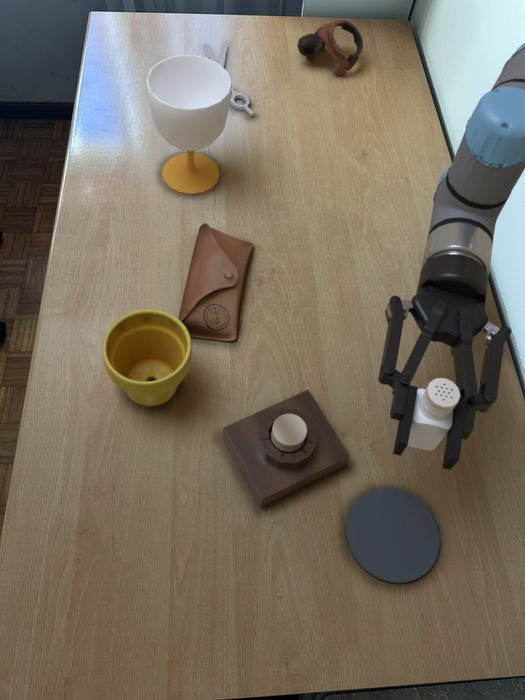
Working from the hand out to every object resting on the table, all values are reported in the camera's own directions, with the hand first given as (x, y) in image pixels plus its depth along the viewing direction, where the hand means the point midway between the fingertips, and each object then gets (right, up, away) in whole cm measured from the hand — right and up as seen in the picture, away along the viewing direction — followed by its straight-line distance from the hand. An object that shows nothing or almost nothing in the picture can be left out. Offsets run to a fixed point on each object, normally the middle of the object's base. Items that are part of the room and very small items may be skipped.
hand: (425, 456), depth 64 cm
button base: (-13, -2, +18) cm, 23 cm away
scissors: (-23, +58, +54) cm, 83 cm away
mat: (0, -11, +14) cm, 18 cm away
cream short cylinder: (-13, 0, +15) cm, 19 cm away
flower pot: (-30, +6, +22) cm, 37 cm away
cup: (-27, +38, +42) cm, 63 cm away
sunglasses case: (-22, +19, +31) cm, 42 cm away
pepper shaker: (+1, +1, +8) cm, 8 cm away
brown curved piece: (-4, +64, +59) cm, 87 cm away
